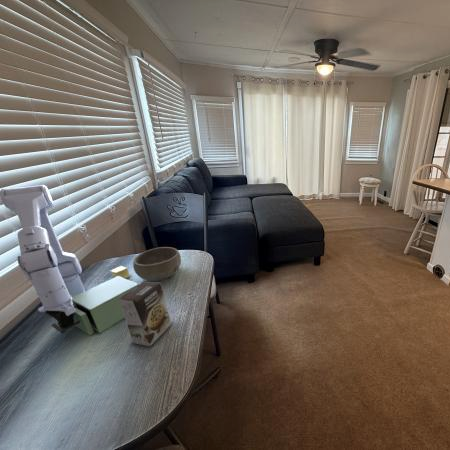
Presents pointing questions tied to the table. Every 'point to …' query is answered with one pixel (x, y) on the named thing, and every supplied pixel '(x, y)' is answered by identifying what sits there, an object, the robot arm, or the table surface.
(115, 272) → the block
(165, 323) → the brown food box
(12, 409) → the table surface
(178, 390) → the table surface
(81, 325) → the drawer
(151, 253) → the bowl
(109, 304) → the pale mint box
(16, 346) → the table surface
